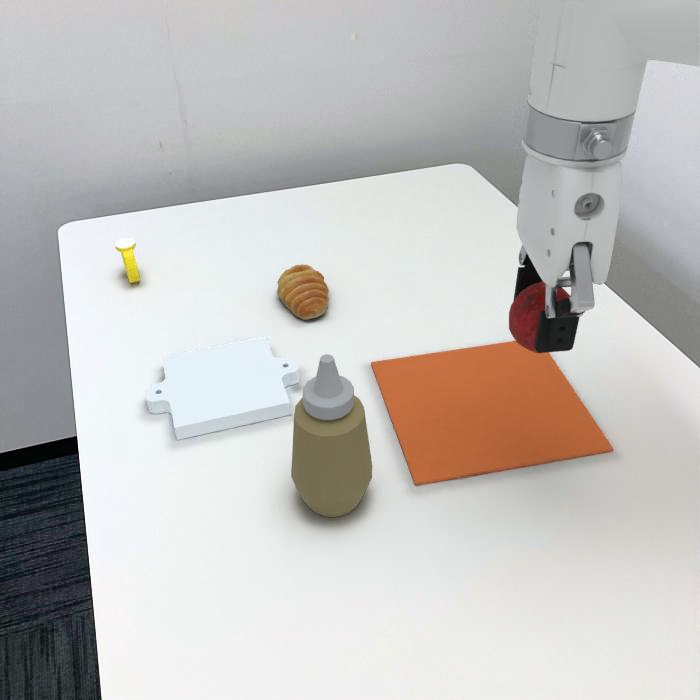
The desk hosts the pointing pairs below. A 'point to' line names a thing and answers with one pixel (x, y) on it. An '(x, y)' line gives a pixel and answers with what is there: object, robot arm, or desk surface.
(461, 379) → the cloth
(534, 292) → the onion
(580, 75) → the robot arm
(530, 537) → the desk surface
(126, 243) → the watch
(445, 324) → the desk surface
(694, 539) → the desk surface
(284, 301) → the pastry
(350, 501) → the squeeze bottle
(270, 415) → the mounting plate
